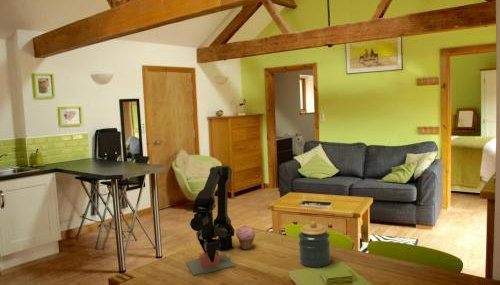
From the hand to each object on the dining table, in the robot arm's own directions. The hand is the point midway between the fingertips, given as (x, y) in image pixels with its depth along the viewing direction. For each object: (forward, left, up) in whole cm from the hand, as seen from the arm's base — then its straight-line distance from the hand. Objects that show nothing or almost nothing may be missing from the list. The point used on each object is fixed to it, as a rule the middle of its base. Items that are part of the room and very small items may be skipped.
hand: (209, 258), depth 177 cm
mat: (0, 0, -3) cm, 3 cm away
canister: (-41, +19, -3) cm, 45 cm away
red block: (0, 0, -2) cm, 2 cm away
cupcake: (-21, -11, -3) cm, 24 cm away
